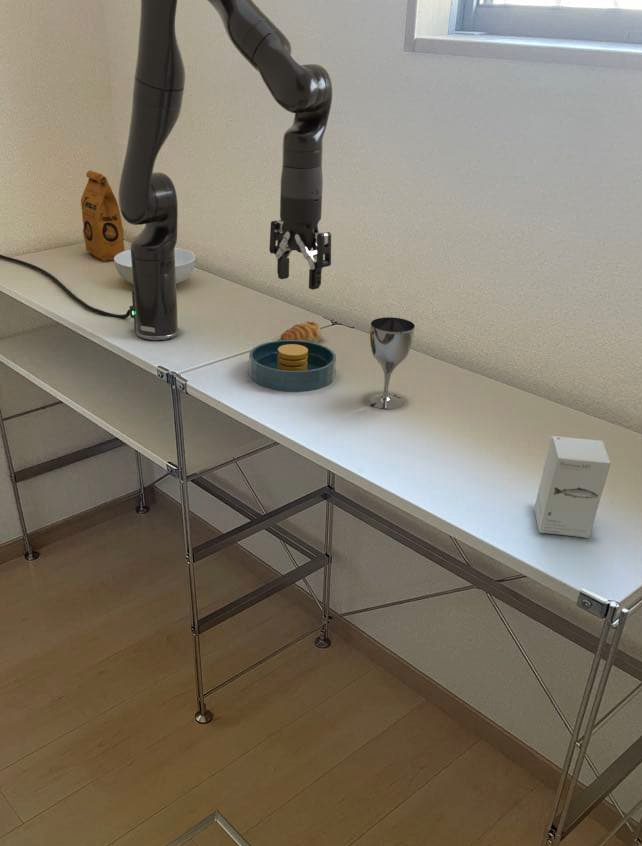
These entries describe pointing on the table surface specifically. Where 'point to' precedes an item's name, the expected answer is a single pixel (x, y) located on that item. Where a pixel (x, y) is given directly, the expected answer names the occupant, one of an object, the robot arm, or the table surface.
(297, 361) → the tan ridged cylinder
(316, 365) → the bowl
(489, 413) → the table surface
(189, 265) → the serving bowl
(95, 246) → the coffee package
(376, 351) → the wine glass
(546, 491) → the white packaging box
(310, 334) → the pastry
